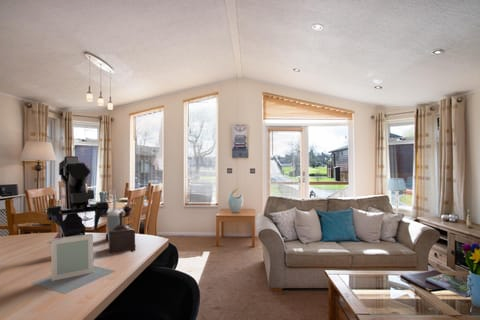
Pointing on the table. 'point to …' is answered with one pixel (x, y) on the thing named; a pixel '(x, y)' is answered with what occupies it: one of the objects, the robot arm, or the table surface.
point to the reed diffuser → (113, 217)
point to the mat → (73, 280)
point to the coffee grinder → (122, 235)
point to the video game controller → (58, 235)
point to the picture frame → (71, 256)
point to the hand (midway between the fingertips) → (80, 233)
